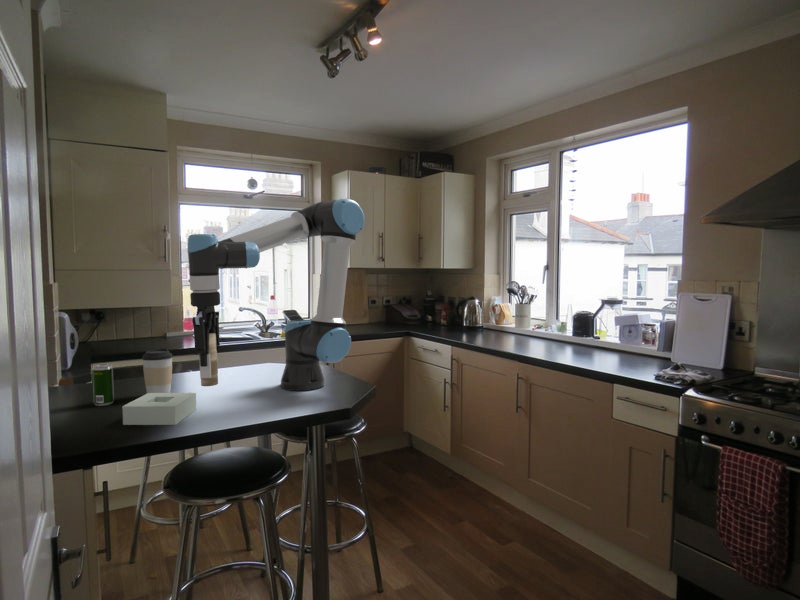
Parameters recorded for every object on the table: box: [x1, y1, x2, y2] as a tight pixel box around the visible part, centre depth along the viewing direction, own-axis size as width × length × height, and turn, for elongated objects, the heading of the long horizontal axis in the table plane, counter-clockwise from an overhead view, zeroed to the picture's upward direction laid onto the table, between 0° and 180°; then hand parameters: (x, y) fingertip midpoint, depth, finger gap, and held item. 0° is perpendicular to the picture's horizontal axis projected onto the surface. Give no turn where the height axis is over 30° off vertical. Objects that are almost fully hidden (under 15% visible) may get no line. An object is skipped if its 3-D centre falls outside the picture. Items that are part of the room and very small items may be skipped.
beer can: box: [91, 363, 115, 407], centre depth 155 cm, size 5×5×12 cm
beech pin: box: [200, 333, 219, 387], centre depth 139 cm, size 4×4×14 cm
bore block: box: [121, 392, 197, 426], centre depth 142 cm, size 14×14×5 cm
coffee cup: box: [141, 347, 173, 394], centre depth 164 cm, size 9×9×15 cm
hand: (209, 375), depth 140 cm, fingers closed on beech pin, 4 cm apart
